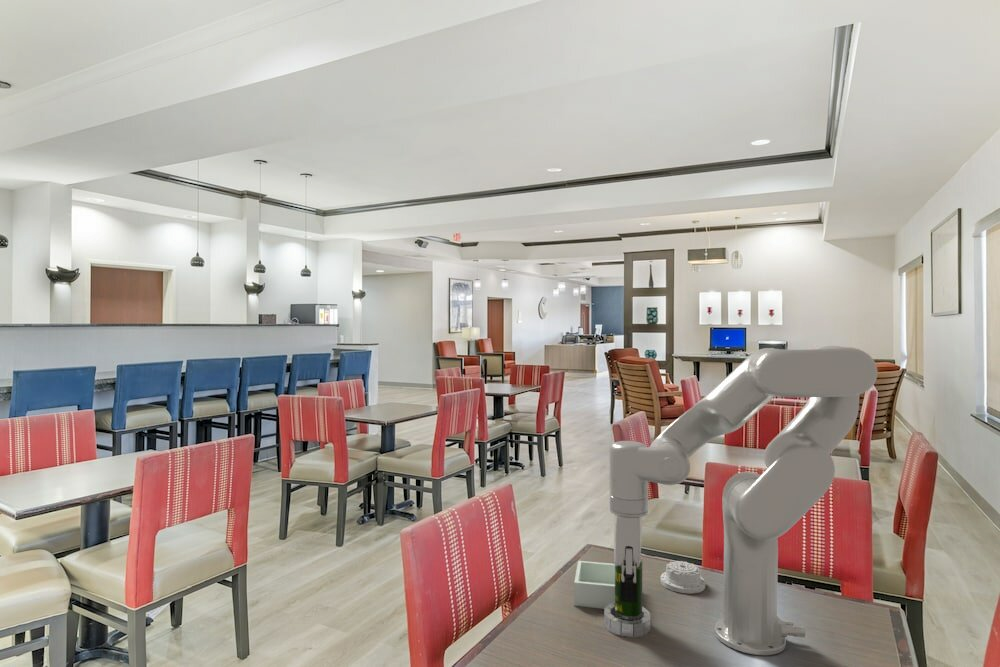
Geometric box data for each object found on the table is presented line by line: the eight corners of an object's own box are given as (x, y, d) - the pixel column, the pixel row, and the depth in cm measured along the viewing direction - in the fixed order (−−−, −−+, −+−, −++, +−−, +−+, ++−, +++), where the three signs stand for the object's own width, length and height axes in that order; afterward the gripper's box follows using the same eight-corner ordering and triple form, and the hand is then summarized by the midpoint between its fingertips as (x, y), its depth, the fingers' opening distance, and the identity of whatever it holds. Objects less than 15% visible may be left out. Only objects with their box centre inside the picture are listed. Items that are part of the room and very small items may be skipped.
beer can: (634, 606, 120) (635, 548, 120) (647, 618, 115) (647, 557, 115) (610, 608, 119) (610, 550, 119) (621, 621, 114) (621, 560, 114)
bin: (630, 586, 134) (630, 565, 134) (631, 611, 123) (631, 587, 122) (578, 581, 137) (578, 560, 137) (574, 605, 125) (574, 582, 125)
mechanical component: (661, 592, 132) (708, 597, 130) (662, 573, 132) (708, 577, 130) (659, 574, 142) (702, 578, 140) (659, 556, 142) (702, 560, 140)
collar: (649, 616, 120) (649, 604, 120) (651, 639, 112) (651, 626, 112) (604, 612, 122) (604, 600, 122) (603, 634, 113) (603, 621, 113)
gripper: (610, 491, 126) (610, 575, 126) (608, 516, 109) (608, 613, 109) (646, 493, 124) (645, 578, 124) (650, 519, 107) (650, 617, 108)
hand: (628, 593), depth 117 cm, fingers closed on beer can, 5 cm apart
